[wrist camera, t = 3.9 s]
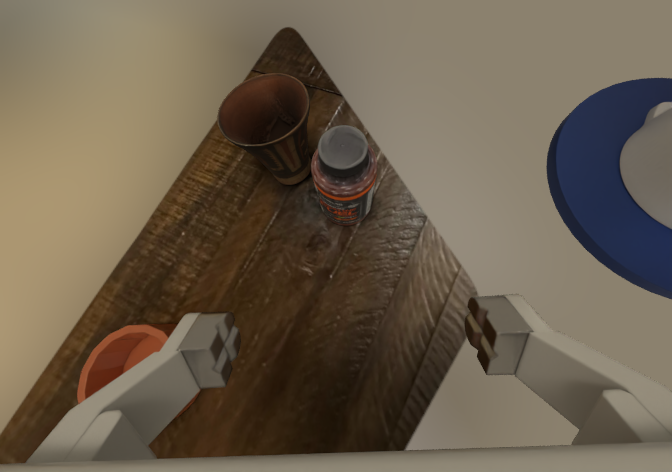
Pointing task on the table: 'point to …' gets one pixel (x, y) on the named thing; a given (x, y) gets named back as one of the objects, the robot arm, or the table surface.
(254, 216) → the table surface
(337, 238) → the table surface
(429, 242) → the table surface
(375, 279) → the table surface
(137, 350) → the holder
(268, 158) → the cup
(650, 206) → the robot arm
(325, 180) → the supplement bottle
